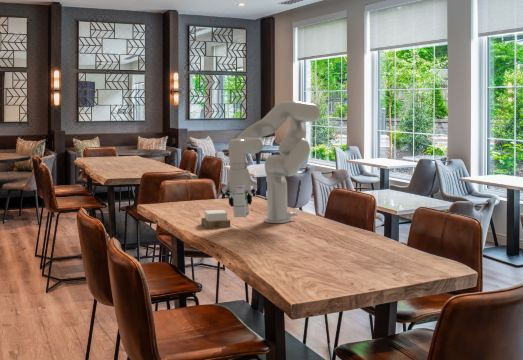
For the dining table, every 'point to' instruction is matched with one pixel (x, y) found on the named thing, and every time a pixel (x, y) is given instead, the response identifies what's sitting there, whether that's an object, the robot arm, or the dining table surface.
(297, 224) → the dining table surface
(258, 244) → the dining table surface
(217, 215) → the white slab
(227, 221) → the walnut slab
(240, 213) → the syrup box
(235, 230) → the dining table surface
